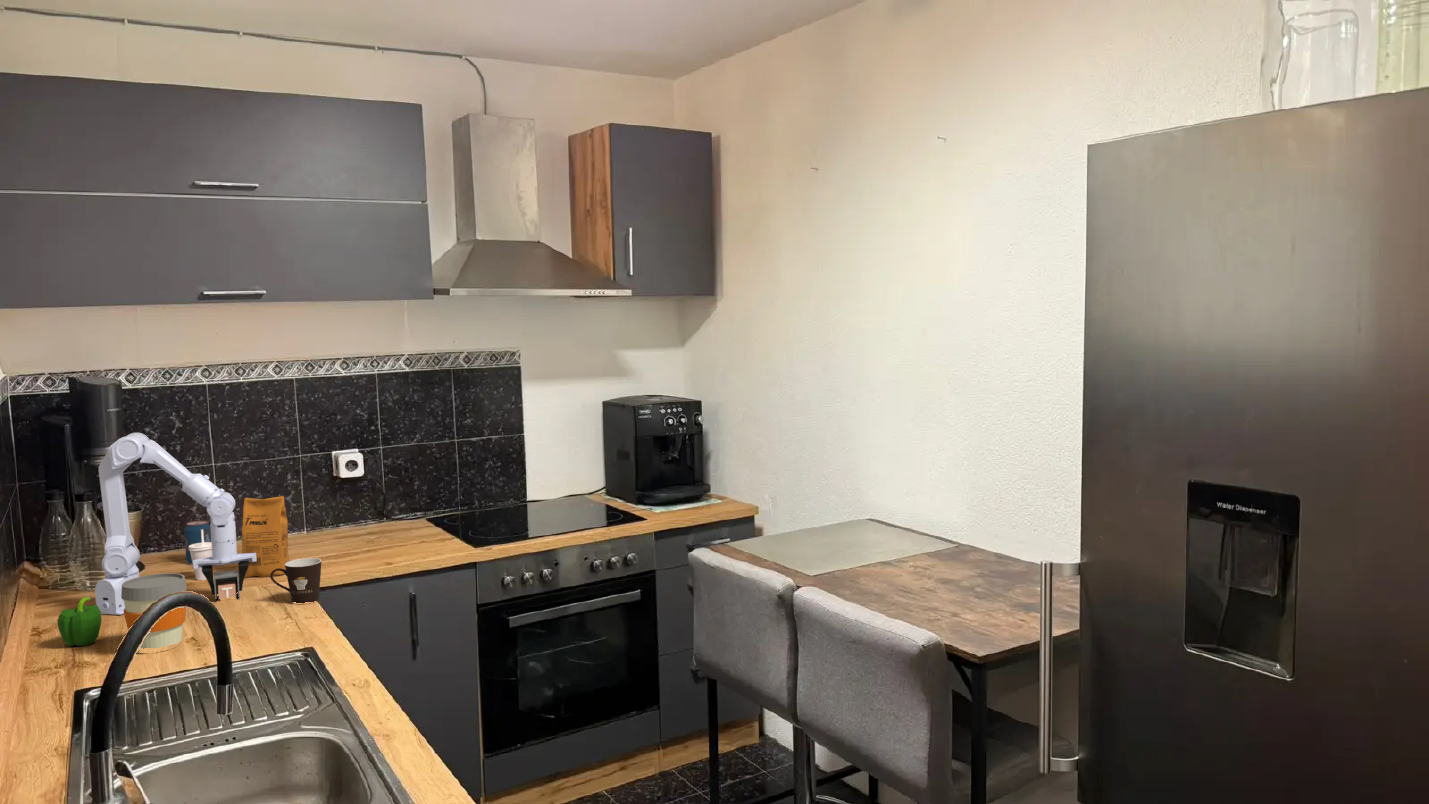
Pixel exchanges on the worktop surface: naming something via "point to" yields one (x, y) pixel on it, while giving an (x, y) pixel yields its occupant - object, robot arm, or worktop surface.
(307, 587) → the coffee mug
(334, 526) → the worktop surface
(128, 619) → the reusable coffee cup
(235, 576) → the grey hollow cube
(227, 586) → the letter cube
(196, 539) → the soda can
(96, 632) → the bell pepper
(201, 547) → the smoothie
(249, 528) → the coffee package
